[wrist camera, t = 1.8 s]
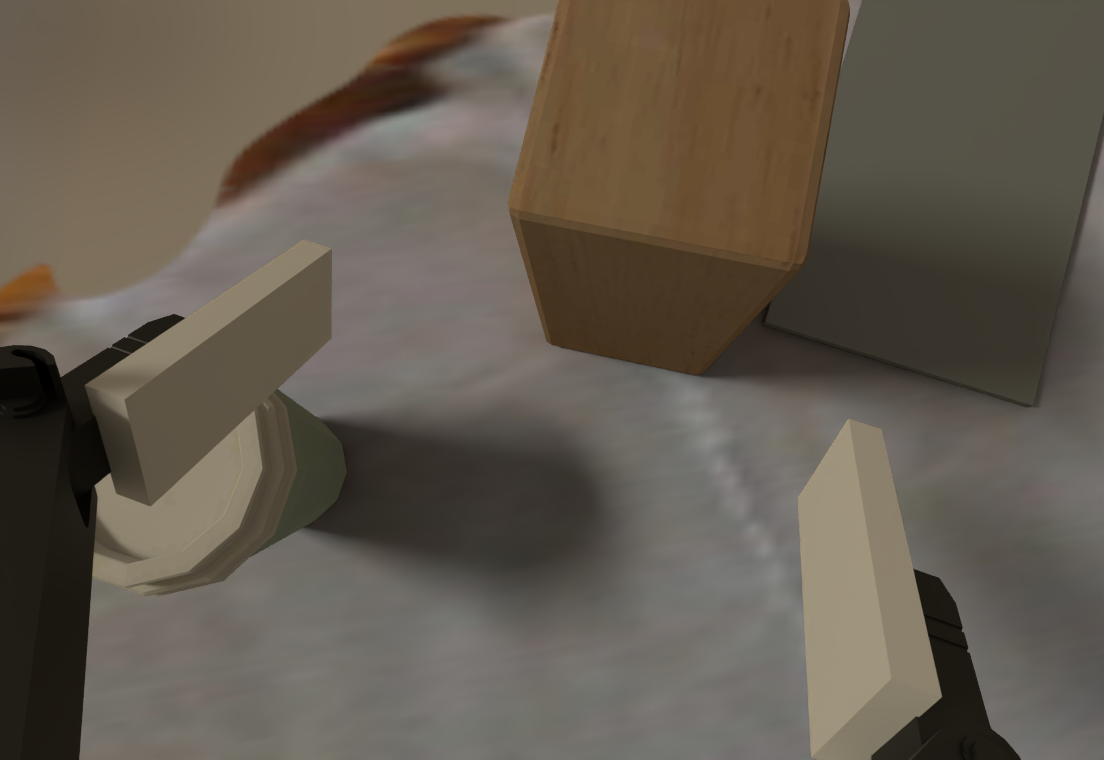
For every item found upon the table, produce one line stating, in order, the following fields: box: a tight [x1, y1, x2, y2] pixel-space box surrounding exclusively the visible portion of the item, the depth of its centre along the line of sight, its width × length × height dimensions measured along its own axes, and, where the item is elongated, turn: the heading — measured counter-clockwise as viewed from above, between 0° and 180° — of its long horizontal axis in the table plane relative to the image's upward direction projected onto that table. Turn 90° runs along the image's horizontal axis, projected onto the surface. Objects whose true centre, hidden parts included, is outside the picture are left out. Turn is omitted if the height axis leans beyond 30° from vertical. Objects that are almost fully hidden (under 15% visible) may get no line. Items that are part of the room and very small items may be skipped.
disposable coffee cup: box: [92, 389, 347, 596], centre depth 33 cm, size 11×11×15 cm
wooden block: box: [508, 0, 850, 375], centre depth 32 cm, size 10×10×20 cm
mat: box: [763, 0, 1104, 407], centre depth 41 cm, size 16×28×1 cm, turn 161°
